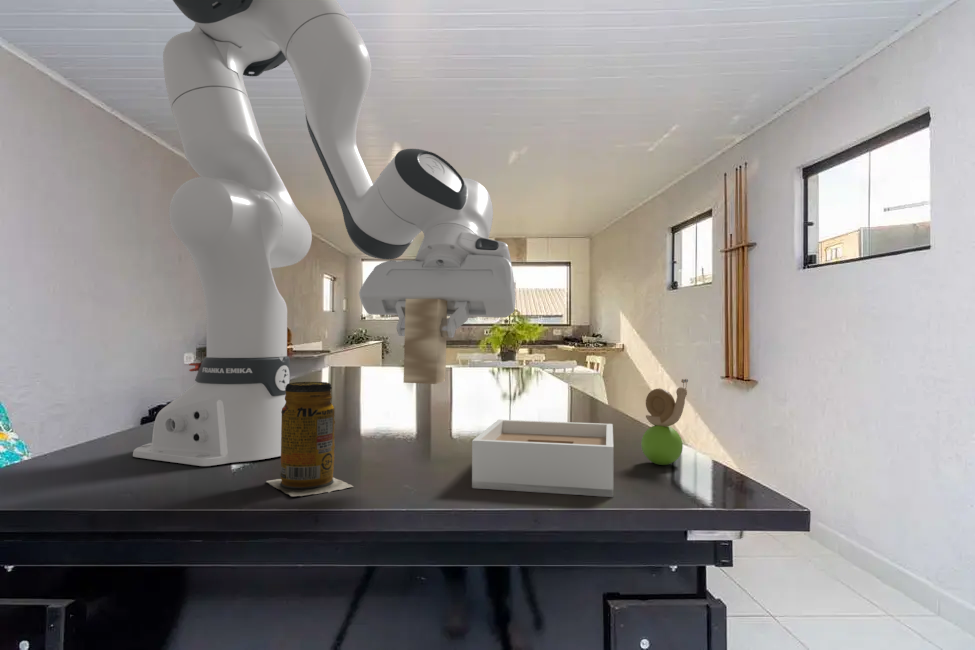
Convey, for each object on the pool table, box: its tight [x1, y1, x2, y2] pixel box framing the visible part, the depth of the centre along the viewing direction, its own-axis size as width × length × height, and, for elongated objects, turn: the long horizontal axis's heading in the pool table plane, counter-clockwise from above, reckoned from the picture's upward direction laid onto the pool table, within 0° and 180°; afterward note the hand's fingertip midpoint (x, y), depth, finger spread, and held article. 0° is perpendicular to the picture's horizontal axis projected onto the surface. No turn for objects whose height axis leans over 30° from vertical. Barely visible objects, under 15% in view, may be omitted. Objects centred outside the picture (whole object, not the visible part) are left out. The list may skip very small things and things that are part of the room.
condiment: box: [265, 381, 354, 497], centre depth 67 cm, size 7×8×12 cm
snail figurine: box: [640, 378, 689, 466], centre depth 78 cm, size 5×6×12 cm
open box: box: [471, 419, 614, 498], centre depth 72 cm, size 16×16×6 cm
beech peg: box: [403, 299, 448, 385], centre depth 69 cm, size 4×4×10 cm
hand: (424, 333), depth 69 cm, fingers closed on beech peg, 4 cm apart
